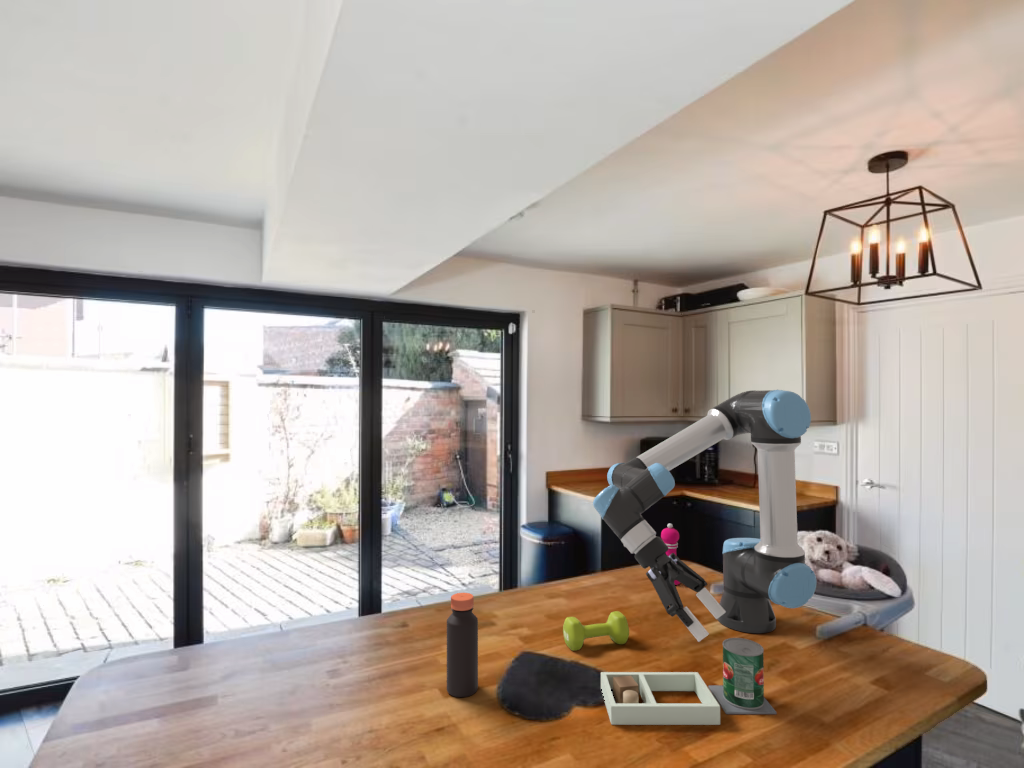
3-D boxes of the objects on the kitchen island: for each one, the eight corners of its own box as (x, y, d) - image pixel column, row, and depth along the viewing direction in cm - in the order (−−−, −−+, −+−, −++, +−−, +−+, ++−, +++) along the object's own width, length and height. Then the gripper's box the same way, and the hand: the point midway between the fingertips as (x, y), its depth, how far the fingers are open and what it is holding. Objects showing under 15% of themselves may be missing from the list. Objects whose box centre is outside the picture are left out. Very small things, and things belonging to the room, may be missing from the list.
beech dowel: (636, 709, 110) (636, 689, 111) (640, 718, 108) (640, 698, 108) (621, 709, 110) (621, 689, 111) (624, 718, 108) (624, 698, 108)
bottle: (470, 700, 114) (469, 604, 114) (440, 694, 116) (441, 600, 117) (482, 684, 120) (482, 593, 121) (455, 679, 123) (455, 589, 123)
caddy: (697, 688, 118) (697, 672, 118) (720, 724, 105) (720, 706, 105) (600, 688, 119) (600, 672, 119) (611, 724, 106) (611, 706, 106)
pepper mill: (682, 580, 187) (681, 521, 187) (681, 587, 180) (680, 526, 181) (660, 578, 189) (659, 520, 190) (658, 585, 183) (658, 525, 183)
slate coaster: (754, 687, 119) (754, 685, 119) (776, 714, 109) (776, 712, 109) (708, 687, 119) (708, 685, 119) (726, 714, 109) (726, 712, 109)
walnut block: (631, 694, 116) (631, 675, 116) (638, 705, 112) (638, 685, 112) (613, 696, 116) (613, 677, 116) (620, 707, 112) (619, 687, 112)
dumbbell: (618, 634, 146) (618, 607, 146) (632, 647, 138) (632, 618, 138) (560, 641, 141) (560, 613, 142) (571, 655, 134) (571, 626, 134)
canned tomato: (716, 690, 117) (715, 638, 117) (751, 687, 118) (750, 636, 118) (734, 711, 109) (734, 655, 109) (772, 709, 110) (771, 653, 110)
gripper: (653, 542, 138) (715, 616, 129) (611, 569, 118) (682, 658, 109) (674, 524, 135) (739, 598, 126) (635, 548, 115) (709, 638, 106)
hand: (713, 626), depth 117 cm, fingers open, 13 cm apart
